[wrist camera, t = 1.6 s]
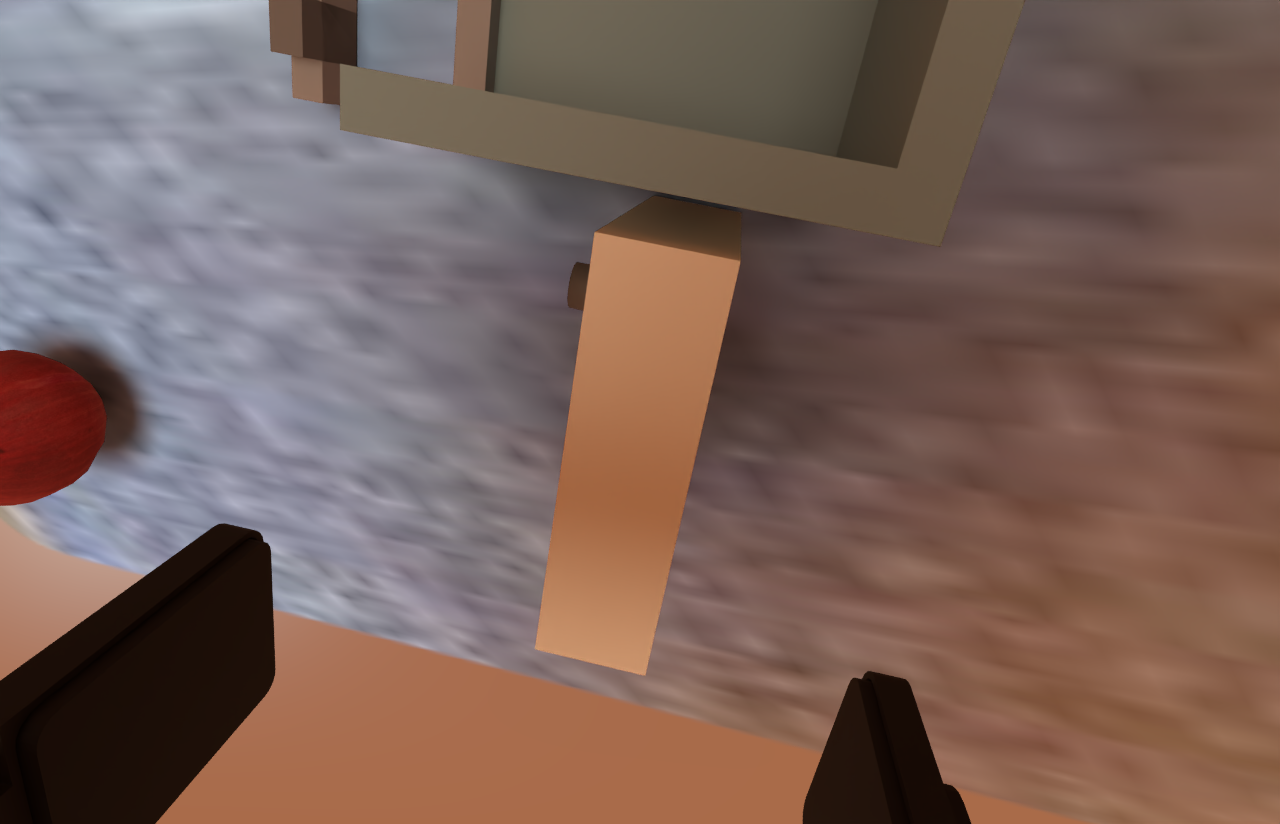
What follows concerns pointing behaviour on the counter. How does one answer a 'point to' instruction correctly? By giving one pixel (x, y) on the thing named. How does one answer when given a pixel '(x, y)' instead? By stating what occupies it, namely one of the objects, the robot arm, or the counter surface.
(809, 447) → the counter surface
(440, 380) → the counter surface
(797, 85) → the cabinet
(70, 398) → the onion
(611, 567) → the door
